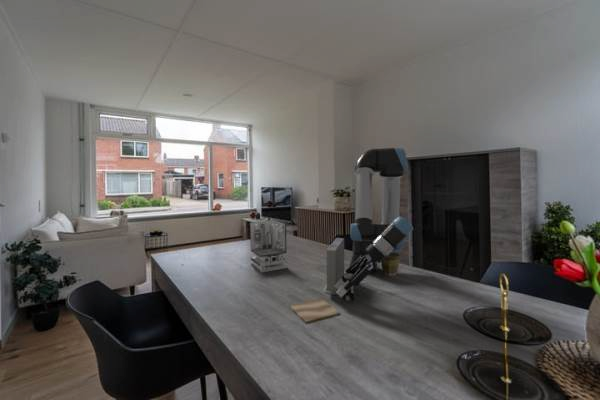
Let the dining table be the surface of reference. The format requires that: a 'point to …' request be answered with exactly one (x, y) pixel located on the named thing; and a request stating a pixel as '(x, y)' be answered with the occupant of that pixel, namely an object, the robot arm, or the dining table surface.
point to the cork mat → (314, 310)
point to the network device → (334, 265)
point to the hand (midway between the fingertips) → (337, 291)
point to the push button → (350, 293)
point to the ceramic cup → (390, 264)
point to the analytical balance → (268, 245)
